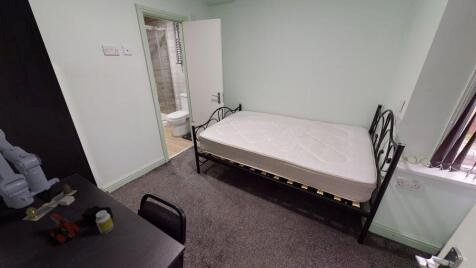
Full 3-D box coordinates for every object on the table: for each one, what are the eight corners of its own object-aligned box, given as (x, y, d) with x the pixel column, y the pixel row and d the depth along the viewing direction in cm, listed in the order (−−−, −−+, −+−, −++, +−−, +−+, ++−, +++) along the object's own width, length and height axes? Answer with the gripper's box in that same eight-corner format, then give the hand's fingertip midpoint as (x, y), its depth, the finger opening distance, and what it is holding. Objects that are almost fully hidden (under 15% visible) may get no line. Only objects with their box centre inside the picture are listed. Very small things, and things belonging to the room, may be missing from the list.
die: (61, 206, 95) (58, 201, 93) (68, 201, 99) (66, 195, 97) (68, 207, 95) (66, 201, 93) (75, 201, 98) (73, 196, 97)
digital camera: (115, 215, 90) (111, 205, 87) (108, 224, 85) (104, 213, 82) (94, 216, 89) (89, 205, 87) (86, 225, 84) (81, 214, 82)
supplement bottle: (116, 225, 84) (111, 210, 80) (106, 235, 79) (99, 219, 76) (107, 223, 86) (102, 207, 82) (97, 232, 81) (90, 216, 77)
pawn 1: (26, 219, 86) (20, 210, 83) (35, 213, 89) (30, 204, 87) (33, 220, 85) (28, 211, 83) (41, 213, 89) (37, 205, 87)
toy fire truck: (65, 246, 74) (55, 229, 71) (50, 236, 79) (40, 219, 75) (83, 233, 80) (76, 216, 76) (68, 224, 85) (60, 207, 81)
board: (22, 221, 86) (21, 219, 85) (66, 191, 106) (65, 189, 106) (37, 222, 85) (36, 220, 85) (78, 191, 106) (77, 190, 105)
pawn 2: (61, 194, 102) (58, 186, 100) (68, 190, 105) (64, 182, 103) (68, 194, 102) (64, 187, 99) (74, 190, 105) (70, 182, 103)
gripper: (26, 190, 75) (39, 214, 80) (60, 171, 88) (69, 192, 93) (11, 189, 75) (25, 213, 80) (47, 170, 88) (57, 191, 94)
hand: (48, 202), depth 87 cm, fingers closed
